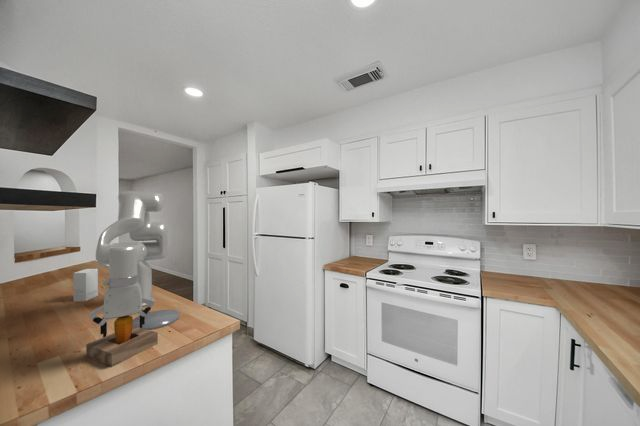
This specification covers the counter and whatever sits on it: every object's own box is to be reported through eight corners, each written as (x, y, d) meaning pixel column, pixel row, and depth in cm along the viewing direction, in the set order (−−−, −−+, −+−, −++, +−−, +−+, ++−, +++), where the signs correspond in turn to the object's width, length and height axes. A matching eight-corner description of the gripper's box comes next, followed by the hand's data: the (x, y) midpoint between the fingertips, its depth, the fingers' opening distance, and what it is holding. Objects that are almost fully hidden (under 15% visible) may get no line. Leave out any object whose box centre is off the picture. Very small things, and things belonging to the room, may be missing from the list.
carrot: (113, 349, 82) (113, 306, 82) (131, 344, 86) (131, 302, 86) (115, 355, 79) (115, 310, 79) (134, 349, 82) (134, 306, 82)
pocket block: (86, 356, 78) (86, 344, 78) (133, 335, 91) (133, 325, 91) (111, 366, 73) (111, 353, 73) (157, 343, 86) (157, 332, 86)
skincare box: (86, 296, 134) (86, 268, 134) (99, 295, 134) (99, 268, 134) (72, 301, 125) (72, 272, 125) (86, 301, 126) (86, 272, 126)
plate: (119, 325, 99) (119, 323, 99) (162, 309, 116) (162, 307, 116) (148, 334, 93) (148, 331, 93) (188, 315, 109) (188, 313, 109)
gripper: (87, 289, 74) (87, 344, 74) (154, 279, 85) (154, 327, 85) (90, 283, 80) (90, 334, 80) (153, 275, 90) (153, 320, 91)
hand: (123, 331), depth 82 cm, fingers open, 9 cm apart
